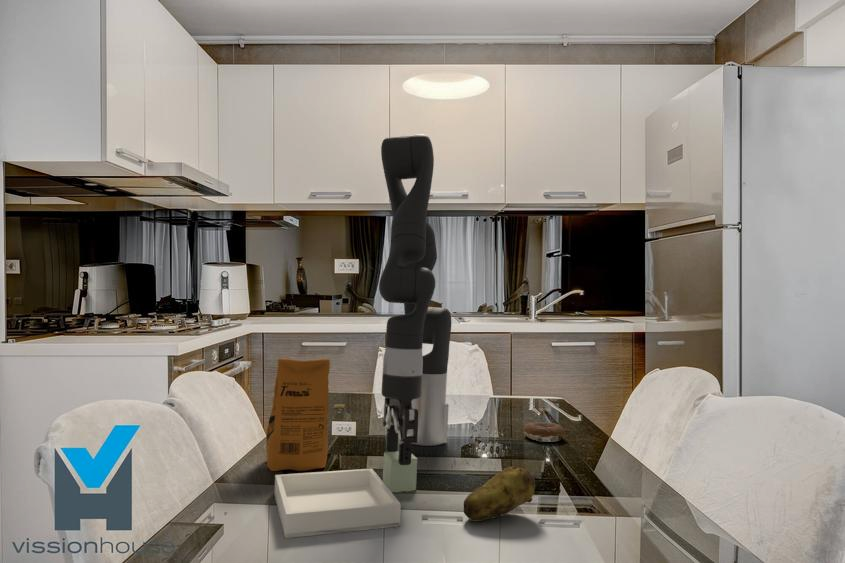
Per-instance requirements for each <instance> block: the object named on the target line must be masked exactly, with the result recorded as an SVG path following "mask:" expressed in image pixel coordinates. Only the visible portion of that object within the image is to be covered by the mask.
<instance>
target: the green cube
mask: <svg viewBox="0 0 845 563" xmlns="http://www.w3.org/2000/svg"><path fill="white" fill-rule="evenodd" d="M398 458H399V450H397V451H396V452H387V451H384V452H383V468H382V481H383V483H384V484H385V485H386V486H387V488H388V489H389V490H390V491H391V493H392V494H393V492H394V493H402V492H401V491H406V492H415V491H414V490H416V491H417V477H418V476H417V475H418V474H417V473H418V470H417V469H418V457H416V456H415V454H413V453H411V464H410V465H400V464H399V463H398ZM412 490H413V491H412Z"/></svg>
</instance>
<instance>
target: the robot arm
mask: <svg viewBox="0 0 845 563" xmlns="http://www.w3.org/2000/svg"><path fill="white" fill-rule="evenodd" d="M380 154H381V163H382V169H383V173H384V177H385V178H384V179H385V184H386V188H387V192H388V197H389V201H390V208H391V214H392V221H391V229H390V246H389V253H388V258H387V260H386V264H385V266H384V268H383V271H382V273H381V276H380V279H379V285H378V290H379V294H380V296H381V298H382V299H383V301H386V302H387V303H392V304H403V309H404V311H403V312H404V314H399V315H394V316H391V317H389V318H388V319H387V322H386V333H385V349H384V353H383V354H384V355H383V361H382V362H383V363H382V374H381V376H382V377H381V378H382V379H381V396H382V397H384V406H383V407H384V408H383V422H382V425H383V427H384V430H385V432H386V434H385V435H386V436H385V437H386V438H385V452H398V451H399V458H398V463H399V464H400V465H410V464H411V453H412V452H413V451H412V450H413V445H418V446H423V447H424V446H426V447H427V446H430V447H431V446H438V445H442V444H447V443H448V429H449V428H448V425H449V404H448V403H447V382H448V380H447V379H448V365H449V357H450V341H451V335H452V334H451V332H452V316H451V312H450V311H449V309H448V308H446V307H436V306H435V307H434V306H430V304H431V301H432V298H433V295H434V293H435V288H436V278H435V275H434V273H433V269H435V268H434V267H435V265H436V263H437V260H438V259H437V258H438V254H437V253H438V252H437V243H436V234H435V231H434V228H433V227H432V225H431V224H430V222H428V220H427V216H428V214H427V213H428V207H429V201H430V197H431V189H432V181H433V177H434V176H433V175H434V165H435V159H434V158H435V157H434V156H435V155H434V148H433V144H432V141H431V138H430V137H429V136H428V135H426V134H423V133H422V134H408V135H399V136H397V135H396V136H389V137H385V138H384V139H383V140H382V143H381V146H380ZM409 179H411V180H412V179H415V181H414V184H413V186H412V187H411V189H410V191H409V193H408V194H407V191H406V190H405V187H404V184H403V181H402V180H409ZM424 344H425V345H432V349H431V351H430V352H429V353H426V354H425V355H423V345H424ZM412 454H413V453H412Z"/></svg>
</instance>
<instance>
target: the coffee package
mask: <svg viewBox="0 0 845 563" xmlns="http://www.w3.org/2000/svg"><path fill="white" fill-rule="evenodd" d="M276 371H277V372H276V377H275V384H274V389H273V391H274V395H273V398H272V406H271V407H272V408H271V413H270V415H269V418H268V424H267V430H266V443H265V444H266V446H265V447H266V450H265V452H266V460H267V461H266V466H267V468H268V469H269V471H271V472H278V471H279V472H280V471H284V470H293V471H297V472H303V471H304V472H305V471H312V470H313V471H314V470H318V469H323V468H325V467H326V465H327V460H328V447H329V444H328V438H329V437H328V415H329V414H328V413H329V399H330V398H329V393H330V392H329V390H330V389H329V375H330V371H331V363H330V359H329V358H321V359H313V360H296V359H291V358H281V357H278V361H277V370H276Z"/></svg>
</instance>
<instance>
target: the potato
mask: <svg viewBox="0 0 845 563" xmlns="http://www.w3.org/2000/svg"><path fill="white" fill-rule="evenodd" d="M535 490H536V480H535V478H534V476H533V475H532V474H531V473H530V472H529V471H528V470H526V469H525V468H522V467H519V466H509V467H505V468H504V469H502V470H501V471H499V472H497V473H495V474H494V475H493V476H492V477H491V478H490V479H489V480H487V481H486V482H485V483H484V484H483V485H482V486H480V487H478V488H476V489H475V490H473V491H472V492H471V493H469V494H468V495H467V496H466V498H465V499H464V501H463V513H464V516H466V517H467V518H468V519H469V520H471V521H472V522H482V521H485V520H488V519H495V518H499V517H502V516H504V515H506V514H508V513H511V511H513V510H514V509H516V508H518V507H519V506H522V505H523V504H526V503H531V502H533V496H534V494H535Z"/></svg>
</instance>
